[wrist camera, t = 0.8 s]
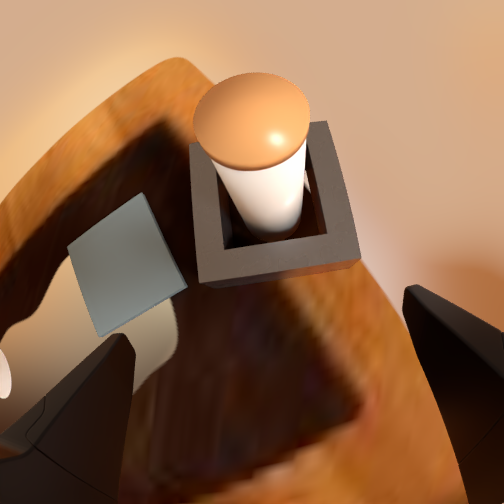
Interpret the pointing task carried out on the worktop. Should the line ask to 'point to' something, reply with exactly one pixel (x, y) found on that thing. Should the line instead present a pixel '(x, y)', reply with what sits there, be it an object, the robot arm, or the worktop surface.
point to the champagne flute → (4, 376)
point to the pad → (124, 266)
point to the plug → (258, 148)
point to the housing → (282, 252)
